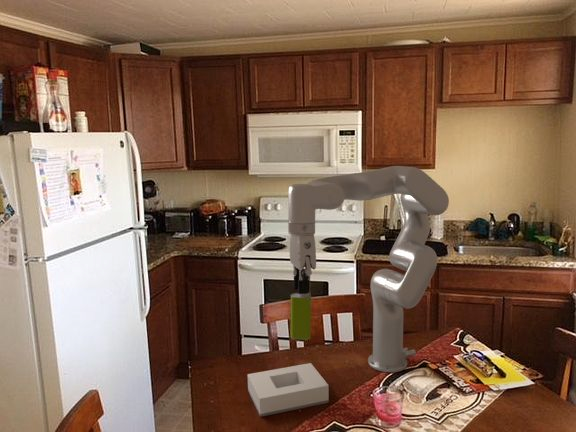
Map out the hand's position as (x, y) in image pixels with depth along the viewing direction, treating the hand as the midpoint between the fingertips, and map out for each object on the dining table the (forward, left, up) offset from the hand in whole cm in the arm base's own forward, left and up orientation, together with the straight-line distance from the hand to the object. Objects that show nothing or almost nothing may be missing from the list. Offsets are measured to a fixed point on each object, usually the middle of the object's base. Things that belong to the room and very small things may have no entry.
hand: (301, 290), depth 138 cm
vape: (0, 0, -15) cm, 15 cm away
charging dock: (+6, +2, -31) cm, 31 cm away
